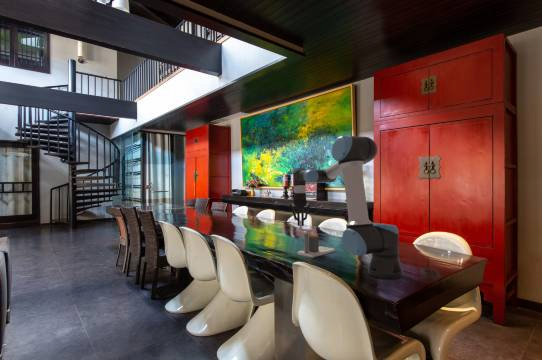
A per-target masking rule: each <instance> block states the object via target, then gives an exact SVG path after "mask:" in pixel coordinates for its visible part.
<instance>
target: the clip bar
mask: <svg viewBox="0 0 542 360" xmlns="http://www.w3.org/2000/svg"><path fill="white" fill-rule="evenodd" d="M293 231H296V232H299V233H302V234H303V235H304V234H308V235H310V231H309V230H304V229H303V228H302V229H300V227H297V226H296V227H293Z"/></svg>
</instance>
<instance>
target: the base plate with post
mask: <svg viewBox="0 0 542 360" xmlns="http://www.w3.org/2000/svg"><path fill="white" fill-rule="evenodd" d="M303 240H304V241H303V242H304V243H303V244H304V245H303V249H304V250H299V251H297V255H298V256H303V257H308V258H311V259H314V258H315V257H319V256H323V255H328V254H330V253H334V252H336V248H332V247H326V246H322V245H321V246H319V251H318V252H310V251H309V234H303Z"/></svg>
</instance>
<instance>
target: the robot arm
mask: <svg viewBox="0 0 542 360" xmlns="http://www.w3.org/2000/svg"><path fill="white" fill-rule="evenodd" d="M377 154H378V145H377V143H376V142H375V140H374V139H372V138H370V137H369V136H355V135H349V134H348V135H340V136H339V137H337V138H335V140H334V142H333V144H332V148H331V157H332V158H333V159H334V160H335V161H336V162H335V163H333V164H332V165H329V167H327V168H325V169H306V168H305V167H304V166H302V167H301V166H300V167H294V168H293V169H292V170H293V171H292V175H293V176H292V178H293V179H292V181H293V193H294V194H293V201H292V203H290V204H289V207H290V208H291V211H292V215H293V218H294V220H295V221H296V222H297V226H298V228H299V229H302V230H303V227H304V225H305V221H306V220H307V219H308V214H309V211H310V210H309V209H310V207H311V205H312V204H311V203H309V202H308V201H307V193H306V192H307V184H311V183H312V184H313V183H314V184H315V183H318V184H319V183H334V182H336V181H337V179H338V177H340V176H342V177H343V184H344V185H343V186H344V192H345V199H346V200H345V201H346V207H347V216H348V222H347V223H346V225H345V226H346V229H344V231H343V232H342V235H341V241H342V244H343V246H344V248H345V250H346V251H347V253H349V255H353V256H364V255H371V257H370V262H369V264H368V267H367V268H368V269H367V272H368V274H369V275H370V276H372V277H374V278H379V279H385V280H395V279H401V278H403V277H404V269H403V266H402V263H401V260H400V255H399V254H400V251H399V250H400V249H399V247H400V246H399V244H400V243H399V240H400V238H399V237H400V234H399V228H398V226H396V225H394V224H386V223H381V222H380V223H379V222H372V221H371V220H370V219H369V210H368V204H367V197H366V196H367V195H366V189H365V183H364V182H365V181H364V174H363V168H362V167H363V165H366V164H368V163H369V162H371V161H373V159H375V158H376V156H377ZM305 206H306V209H305ZM295 207H296V211H295ZM300 209H301V211H300ZM304 209H305V211H304ZM300 213H301V214H300ZM304 213H305V214H304ZM300 215H301V217H300Z"/></svg>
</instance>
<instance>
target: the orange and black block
mask: <svg viewBox="0 0 542 360" xmlns="http://www.w3.org/2000/svg"><path fill="white" fill-rule="evenodd" d="M308 246H309V251H310V252H318V251H319V234H318V233H311V234H310V233H309V234H308Z"/></svg>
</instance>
